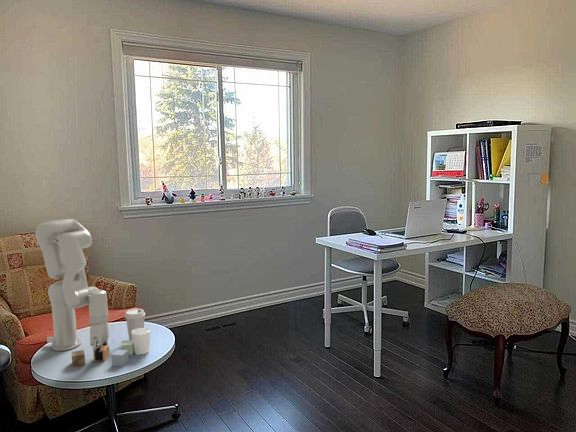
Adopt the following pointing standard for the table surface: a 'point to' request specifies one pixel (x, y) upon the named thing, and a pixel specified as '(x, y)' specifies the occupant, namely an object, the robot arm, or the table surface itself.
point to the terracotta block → (105, 352)
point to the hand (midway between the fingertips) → (101, 356)
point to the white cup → (141, 340)
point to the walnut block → (78, 358)
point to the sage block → (128, 346)
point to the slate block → (120, 357)
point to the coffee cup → (134, 320)
